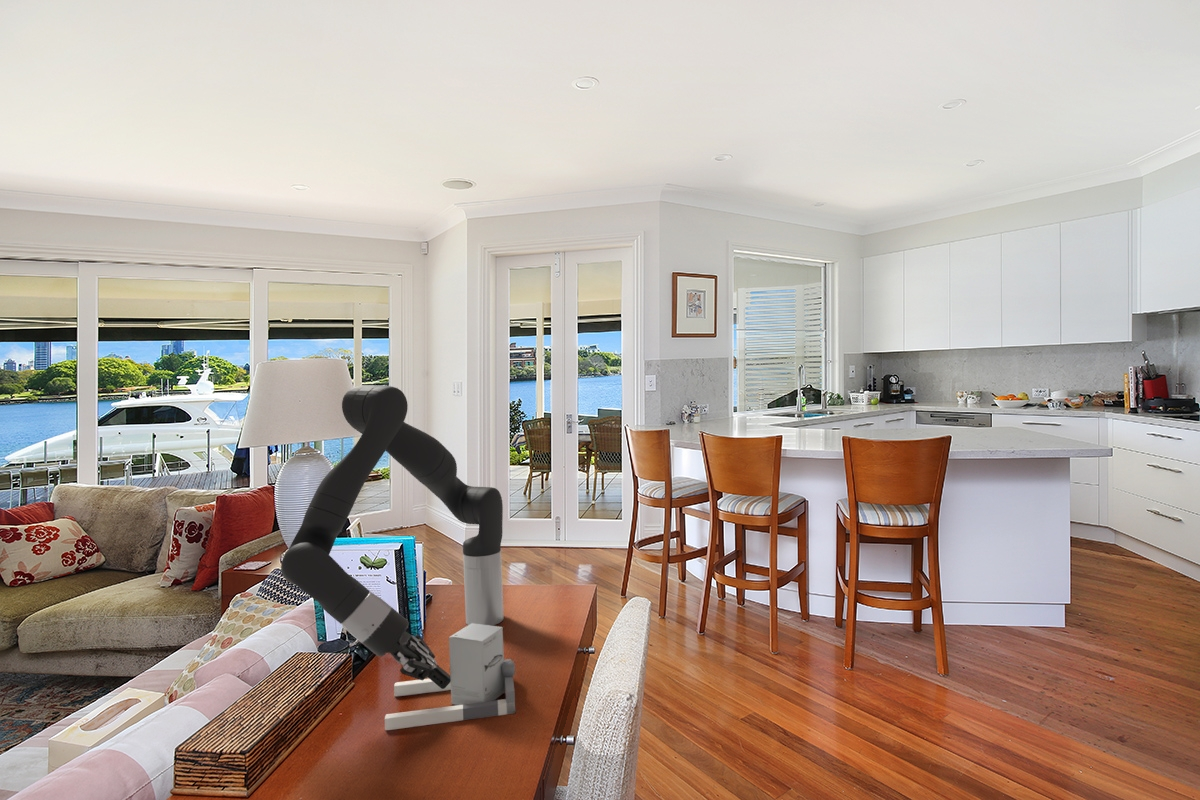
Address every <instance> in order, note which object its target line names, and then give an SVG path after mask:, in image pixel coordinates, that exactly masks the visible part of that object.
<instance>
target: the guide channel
mask: <svg viewBox="0 0 1200 800" xmlns="http://www.w3.org/2000/svg"><path fill="white" fill-rule="evenodd" d="M502 676H503V677H504V679H505V692H504V695H505V696H504V697H505V698H504V699H496V700H494V701H487V702H479V703H471V704H463V705H451V706H450V705H449V706H442V707H441V706H440V707H434V708H427V709H418V710H411V711H410V710H409V711H403V712H395V713H386V714H385V716H384V731H392V730H398V729H399V730H400V729H405V728H406V729H407V728H414V727H415V728H416V727H421V726H427V725H429V726H430V725H437V724H444V723H452V722H459V721H466V720H475V719H483V718H490V717H496V716H505V715H511V714H512V715H513V714H516V695H515V694H516V692H515V684H514V676H516V664H515V661H512V658H506V659H505V658H504V662H503V663H502ZM393 687H394V688H393V692H394V697H396V698H397V697H402V696H412V695H418V694H419V695H420V694H426V693H427V694H428V693H436V692H444V691H451V681H450V683H449V684H448V685H447V686H446V688H444V689H441V688H440V687H439V686H438V685H437V684H435V683H434V682H433V681H432V680H430V679H429V678H425V679H424V680H419V679H415V680H414V679H413V680H405V681H397V682H395V683H394V686H393Z"/></svg>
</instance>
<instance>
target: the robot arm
mask: <svg viewBox="0 0 1200 800" xmlns="http://www.w3.org/2000/svg"><path fill="white" fill-rule="evenodd" d="M341 401H342V402H341V411H342V413H343V414H342V415H343V416H344V418H345V420H346V421H347V423H348V424H349V425H350V426H351V428H352V429H354V430H356V431H357V432H359V433H360V434H361V435H360V437H359V439H358V440H357V442H356V443H355V445H354V446H353V447H352V448H351V450H350V451H349V452H348V453H347V454H346V455H345V456H344V457H343V458H342V459H341V460H340V461H339V462H338V463H337V464H335V466H334V467H333V468H332V469H331V470H329V472H328V473H327V474H326V475H325V476H324V478H323V479H322V481H321V482H320V483H319V485H318V487H317V489H316V490H315V493H314V495H313V496H312V499H311V500H310V502H309V505H308V507H307V509H306V511H305V513H304V516H303V520H302V523H301V525H300V526H299V528H298V531H297V533H296V534H295V537H294V538H293V539H292V541H291V544H290V545H289V546H288V549H287V551H286V552H285V553H284V555H283V557H282V560H281V565H280V571H281V574H282V576H283V578H284V579H285V580H286V581H287V582H288V583H290V585H293V586H297V588H299V589H300V590H302V591H303V592H304V593H305V594H306V595H309V596H310V597H311V598H312V599H313V600H315V601H316V602H317V603H318V604H319V605H320V607H321V608H322V609H323V610H324V611H325V612H326V613H327V614H328V615H329V616H331V617H332V618H333V619H335V620H336V621H337V622H338V623H339V624H341V626H343V627H344V628H345V629H346V631H347V632H348V633H349V634H351V636H353V637H354V638H355V639H356V640H357V641H359V643H360V644H362V645H364V647H366V648H367V649H369V651H371V652H372V653H373V654H374V655H376V656H377V657H379V658H380V657H385V655H386V654H390V655H391V656H392V657H393V659H394V661H396V663H398V664H399V665H402V667H400V669H399V671H400V673H401V674H402V675H405V676H408V677H410V678H413V679H415V680H424V679H430V680H432V681H433V682H434V683H435V684H437V685H438V686H439V687H440V688H441V689H444V688H446V686H447V685H448V684H449V683H450V681H451V680H450V673H448V672H447V671H445V670H444V669H443V668H442V667H440V665H438V662H437V661H436V659H435V658H436V655H435V654H434V652H433V651H432V650H431V649H430V647H429V646H428V644H427V643H426V642H425V640H424V639H423V637H422V636H421V635H420V634H418V633H417V634H415V636H414V635H413V634H412V635H411V634H410V633H409V632H408V631H407V629H408V627H409V625H410V624H409V623H410V622H409V620H408V619H407V618H405V617H404V616H403V615H401V614H400V612H398V611H397V610H396V609H394V607H392V606H391V605H390V604H388V602H386V601H385V600H384V599H382V598H381V597H379V596H378V595H377V594H375V593H373V592H371V591H370V590H369V589H368V588H367V587H366V586H365V585H364V584H362V583H361V582H360V581H359V580H358V579H356V578H354V577H353V576H352V575H350V574H349V573H348V572H347V571H346V570H344V569H343V567H342V566H341V565H340V564H339V563H338V562H337V561H336V559H334V558H333V557H332V556H331V555H330V553H331V552H332V549H333V547H334V544H335V542H336V539H337V537H338V535H340V533H341V531H342V530H343V528H344V526H345V524H346V523H347V520H348V518H349V516H350V513H351V511H352V510H353V508H354V505H355V502H356V500H357V498H358V497H359V495H360V492H361V490H362V488H363V487H364V485H365V483H366V481H367V480H368V479H369V476H370V475H371V473H372V472H373V471H374V468H375V467H376V466H377V464H378V463H379V462H380V460H381V458H382V457H383V455H384V454H385V452H386V453H388V454H389V455H390V456H391V457H392V459H394V460H395V461H396V462H397V463H398V464H400V465H401V466H402V467H403V468H404V469H405V470H406V471H407V472H408V473H409V474H410V475H412V476H413V477H414V478H415V479H416V480H417V481H418V482H419V483H421V484H422V485H423V486H425V488H427V489H428V490H429V491H430V492H431V493H432V494H433V495H435V497H437V498H438V499H439V500H440V501H441V502H442V503H443V504H444V505H445V507H447V510H449V512H451V514H452V515H453V516H454V517H455V518H456V519H457V520H458V521H459V522H461V523H463V524H467V525H478V534H477V535H475V536H472V537H469V538H468V539H465V540H464V541H463V543H462V559H463V560H462V561H463V562H462V563H463V564H462V565H463V581H464V582H463V583H464V584H463V585H464V608H465V624H466V626H468V625H469V624H471V623H474V624H483V625H491V626H497V624H500V623H501V622H502V621H504V619H505V618H504V598H503V597H504V593H503V592H504V591H503V574H502V573H503V570H502V569H503V567H502V549H501V548H502V547H501V545H502V544H501V543H502V539H503V518H504V517H503V516H504V515H503V513H504V511H503V510H504V507H503V506H504V505H503V499H502V498H503V497H502V494H501V493H500V491H499V490H498V488H495V487H492V486H491V487H490V486H471V485H468V484H466V483H465V482H463V481H462V480H461V479H460V478H459V477H458V476H457V474H458V468H457V467H458V466H457V464H458V463H457V461H456V458H455V457H454V455H453V454H452V453H451V452H450V451H449V449H447V447H445V446H444V445H443V443H441V442H440V441H439V440H438V439H436V438H435V437H433V436H431V435H430V434H428V433H427V432H425V431H423V430H420V429H419V428H416V427H415V426H412V425H410V424H408V423H406V422H405V419H406V418H407V413H408V400H407V397H406V395H405V394H404V392H403V391H402V390H401V389H399V388H398V387H395V386H391V385H380V384H379V385H378V384H377V385H376V384H363V385H361V384H360V385H358V386H357V385H356V386H353V387H352V388H350V389H349V390H347V391H346V393H345V394H344V396H343V397H342V400H341Z"/></svg>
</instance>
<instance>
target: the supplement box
mask: <svg viewBox="0 0 1200 800" xmlns="http://www.w3.org/2000/svg"><path fill="white" fill-rule="evenodd" d="M448 648H449V649H448V651H449V653H448V654H449V675H450V680H451V690H450V701H451V702H450V703H451V705H453V706H456V705H463V704H471V703H479V702H487V701H495V700H498V698H500V696H502V695H503V694H505V679H504V677H503V676H502V663H503V662H504V659H505V658H504V657H505V656H504V655H505V654H504V631H503V627H502V626H497V625H492V626H491V625H483V624H474V623H471V624H469V625H466V626H464V627H463V628H461V629H460V630H458V631H457V632H455V633H453V634H452V635H450V636H449V637H448Z"/></svg>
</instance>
